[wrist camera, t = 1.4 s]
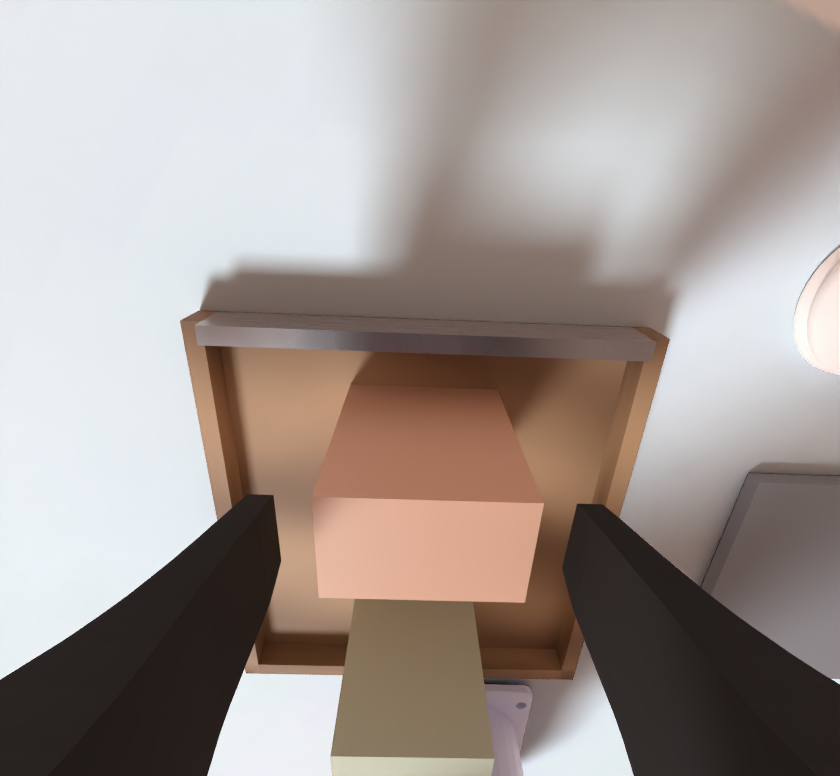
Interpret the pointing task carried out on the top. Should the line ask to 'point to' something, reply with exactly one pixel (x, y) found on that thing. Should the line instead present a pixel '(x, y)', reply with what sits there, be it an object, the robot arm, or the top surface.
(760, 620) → the mat
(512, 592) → the salmon pink box
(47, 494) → the top surface
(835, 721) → the robot arm
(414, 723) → the khaki rectangular block
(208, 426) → the wooden serving tray
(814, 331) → the chess piece
